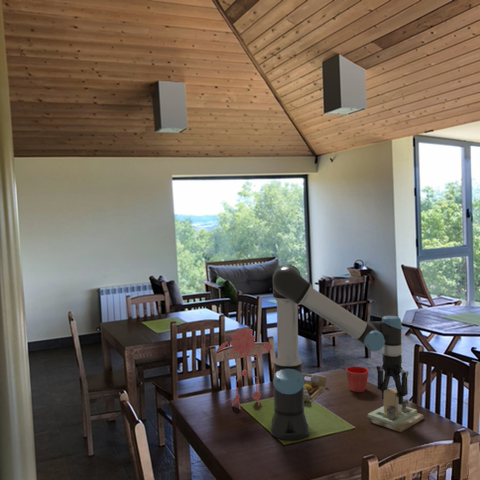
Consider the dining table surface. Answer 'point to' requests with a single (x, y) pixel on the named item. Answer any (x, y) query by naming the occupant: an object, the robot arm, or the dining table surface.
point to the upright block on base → (391, 401)
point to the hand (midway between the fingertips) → (392, 409)
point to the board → (402, 424)
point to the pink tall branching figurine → (243, 344)
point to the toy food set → (313, 386)
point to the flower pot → (357, 378)
